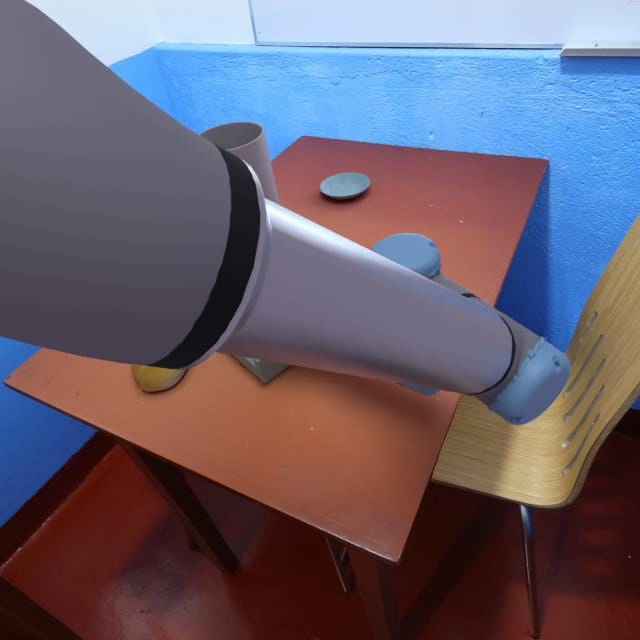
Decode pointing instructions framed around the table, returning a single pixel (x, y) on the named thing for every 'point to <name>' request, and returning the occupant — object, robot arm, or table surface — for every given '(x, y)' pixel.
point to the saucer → (345, 185)
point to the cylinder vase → (247, 150)
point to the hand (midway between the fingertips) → (221, 274)
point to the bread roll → (155, 377)
